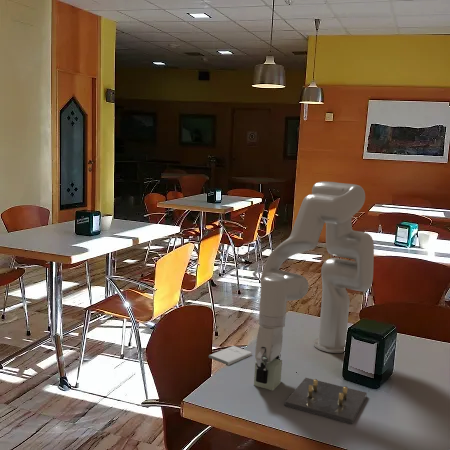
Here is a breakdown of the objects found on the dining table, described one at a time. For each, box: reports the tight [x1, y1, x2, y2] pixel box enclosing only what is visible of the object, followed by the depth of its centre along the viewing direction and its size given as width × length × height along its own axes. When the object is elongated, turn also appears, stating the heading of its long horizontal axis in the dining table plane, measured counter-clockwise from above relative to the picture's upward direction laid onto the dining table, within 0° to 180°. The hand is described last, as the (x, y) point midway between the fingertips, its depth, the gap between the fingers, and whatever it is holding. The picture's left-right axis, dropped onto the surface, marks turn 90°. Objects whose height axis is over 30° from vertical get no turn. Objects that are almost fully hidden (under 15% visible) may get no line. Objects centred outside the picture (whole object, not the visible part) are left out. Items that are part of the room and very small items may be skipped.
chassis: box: [284, 377, 368, 425], centre depth 148 cm, size 18×18×4 cm
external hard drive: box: [208, 345, 253, 366], centre depth 176 cm, size 2×8×12 cm
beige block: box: [253, 357, 283, 391], centre depth 156 cm, size 6×6×7 cm
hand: (267, 376), depth 156 cm, fingers open, 9 cm apart
